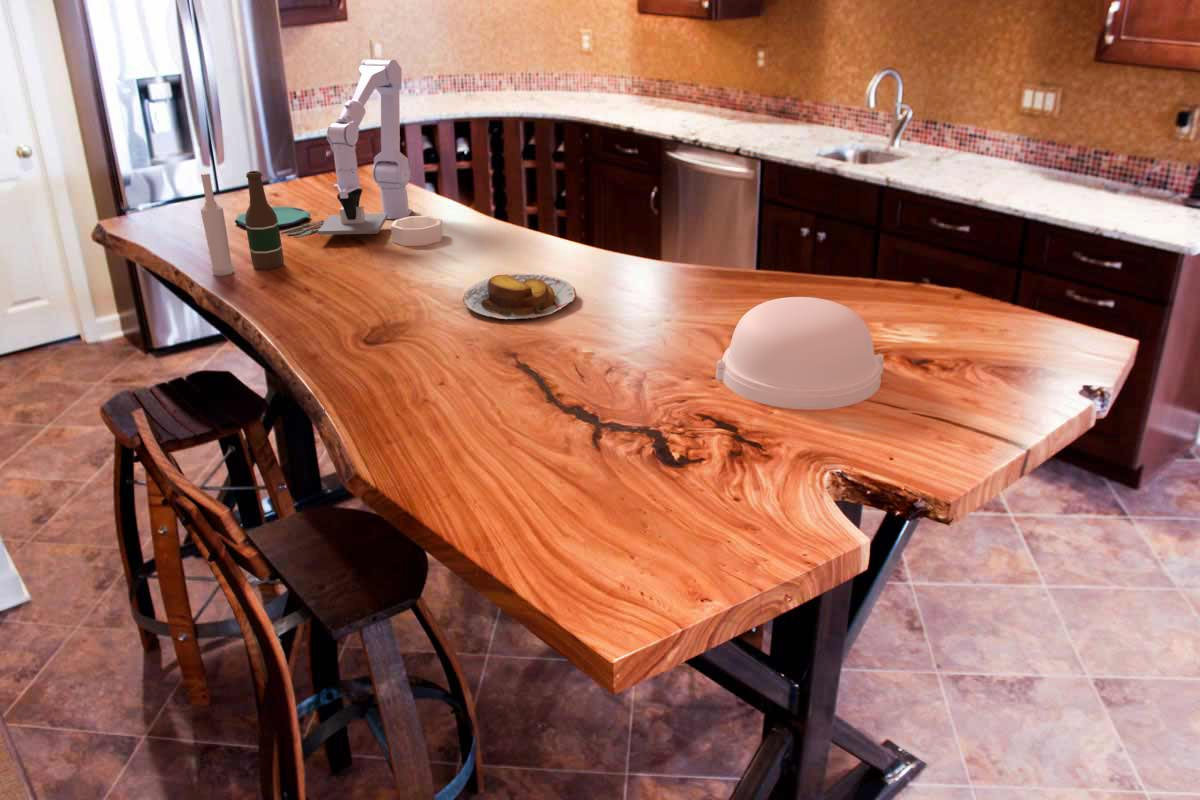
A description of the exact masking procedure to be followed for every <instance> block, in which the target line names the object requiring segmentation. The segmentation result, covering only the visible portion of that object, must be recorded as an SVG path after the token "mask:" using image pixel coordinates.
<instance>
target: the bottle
mask: <svg viewBox="0 0 1200 800" xmlns="http://www.w3.org/2000/svg"><path fill="white" fill-rule="evenodd" d="M200 177H201V182H202V187H203V191H204V198H205V201H204V204H203V206H202V207H200V215H201V220H202V224H203V227H204V233H205V234H204V235H205V238H206V243H207V246H208V247H207V248H208V253H209V257H210V262H211V271H212V274H213V275H214V276H217V277H222V276H228V275H231V274H233V273H234V264H233V263H232V259H231V251H230V246H229V240H228V234H227V226H226V220H225V219H226V218H225V213H224V207H223V206H222V205H221V204H219V203H218V202H217V200H215V197H214V192H213V191H214V190H213V185H212V179H211V173H210V172H202V173H200Z"/></svg>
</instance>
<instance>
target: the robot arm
mask: <svg viewBox="0 0 1200 800" xmlns="http://www.w3.org/2000/svg"><path fill="white" fill-rule="evenodd" d="M358 69H359V70H358V71H359V72H358V73H359V77H360V78H359V80H358V83H357V85H356V88H355V91H354V94H353V96H352V99H350V100H347V101H346V102H344V103H345V104H344V105H343V106H342V109H341V111H340V113H339V115H338V116H337V119H336V120H335V122H333V123H331V124H329V126H328V127H327V131H326V132H327V133H326V140H327V141H328V143H329V145H330V150H331V151H332V153H333V157H334V158H333V159H334V166H335V174H336V180H337V183H334V185H333V189H337V190H338V192H339V193H337V195H336V197H337V200H338V201H339V203H340V204H341V207H343V208H344V211H345V214H346V216H347V219H348V220H355V219H356V207H360V200H361V196H362V193H363V188H361V183H360V177H359V169H358V160H357V154H356V152H357V151H356V143H357V142H358V140H359V131H360V125H361V122H362V121H363V119H364V117H365V115H366V109H365V106H366V104H367V102H368V101H369V98H370V97H371V96H372V94H373V92H374V91H375V90H376V91H377V92H378V93H379V94H380V146H381V147H380V149H381V151H380V152H379V153H378V154H376V155H375V156H374V158H373V166H372V169H371V170H372V171H371V175H372V179H373V181H374V183H376V184H377V187H380V188H379V189H380V197H381V205H382V206H381V207H382V214H388V218H387V219H386V220H398V219H402V218H406V217H410V215H411V214H412V211H413V208H410V206H409V200H408V191H407V190H408V189H407V188H406V186H408V184H409V183H410V181H411V175H412V172H411V168H410V164H409V163H410V162H409V161H410V160H409V158H408V157H407V156H405V154H403V153H402V152H401V146H400V145H401V141H400V139H401V138H400V137H401V136H400V133H401V132H400V129H401V128H400V127H401V126H400V124H401V123H400V121H401V120H400V110H401V109H400V91H401V90H402V80H403V79H402V74H403V73H402V67H401V65H400V64H399V62H398V61H397V60H396V59H371V58H364V59H363V60H362V62H361V63H360V66H359V68H358Z"/></svg>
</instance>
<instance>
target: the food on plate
mask: <svg viewBox="0 0 1200 800" xmlns="http://www.w3.org/2000/svg"><path fill="white" fill-rule="evenodd" d="M575 299H577V292H576V288H575V287H574V286H573V285H571V283H570V282H569V281H566V280H564V279H561V278H558V277H555V276H549V275H545V274H533V273H526V274H525V273H515V274H497V275H494V276H491V278H489V279H484V280H483V281H482V280H481V281H479V282H478V283H476V284H475V285H472V286H471V287H469V288H468V289H467V291H466V292H464V295H463V297H462V301H461V302H463V304H464V306H465V307H466V308H468V310H470V311H473V312H474V313H476V314H477V315H483V316H486V317H488V318H489V317H492V318H496V319H504V320H508V319H509V320H516V319H529V318H531V319H536V318H538V317H543V316H544V317H545V316H548V315H552V314H553V313H555V312H557V311H558V310H561V309H562V308H564V307H566V305H567V306H568V305H569V303H570V302H572V303H573V302H574V301H575ZM493 313H495V314H499V315H495V314H493ZM537 313H539V314H537ZM568 313H569V311H566V314H568ZM501 315H502V316H501ZM503 315H504V316H503Z"/></svg>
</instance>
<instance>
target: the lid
mask: <svg viewBox="0 0 1200 800" xmlns="http://www.w3.org/2000/svg"><path fill="white" fill-rule="evenodd" d="M387 218H388V214H383V213H366V214H365V209H364V206H359V207H356V219H355V220H348V219H347V216H346V214H345V211H344V208H343V206H341V207H340V208H339V214H330V216H328V218H327V219H326V220H325V221H324V222H325V223H324V224H323V225H321V226H320V227H319V228H318V229H319V230H318V231H317V236H318V235H319V236H320V235H321V236H324V235H362V234H363V235H364V234H366V235H367V234H368V235H369V234H370V235H371V234H378V233H379V232H380V230H381V229H382V228H383V226H384V224H385V223H386V221H387V220H388V219H387Z"/></svg>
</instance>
